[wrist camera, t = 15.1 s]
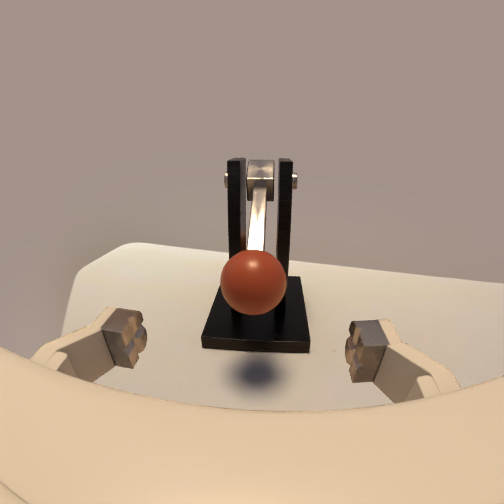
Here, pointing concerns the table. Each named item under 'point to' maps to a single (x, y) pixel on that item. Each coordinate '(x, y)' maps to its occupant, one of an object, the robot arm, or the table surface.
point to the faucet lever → (255, 252)
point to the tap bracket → (292, 304)
